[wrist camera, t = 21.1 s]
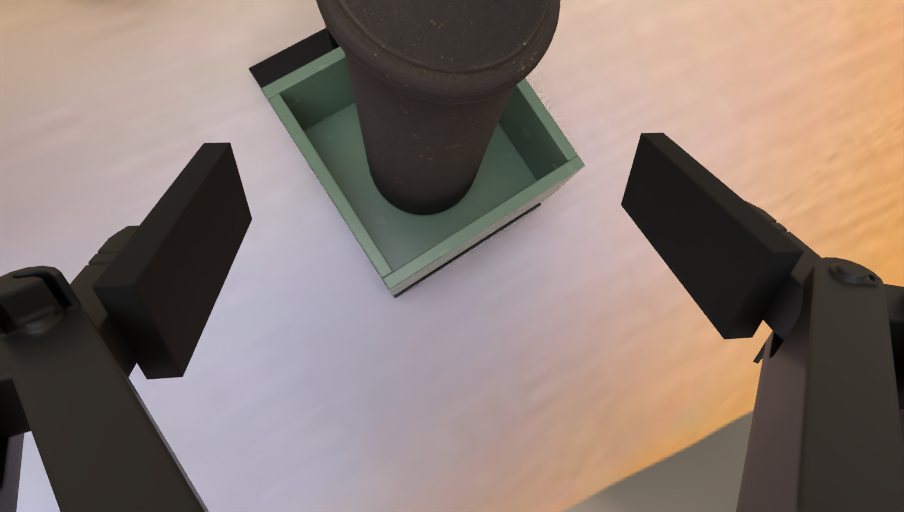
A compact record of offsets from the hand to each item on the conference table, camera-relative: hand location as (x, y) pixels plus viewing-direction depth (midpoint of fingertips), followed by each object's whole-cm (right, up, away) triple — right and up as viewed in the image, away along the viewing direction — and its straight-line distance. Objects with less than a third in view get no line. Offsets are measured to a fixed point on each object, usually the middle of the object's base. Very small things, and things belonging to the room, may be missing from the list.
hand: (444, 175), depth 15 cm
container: (-2, +4, +19) cm, 20 cm away
